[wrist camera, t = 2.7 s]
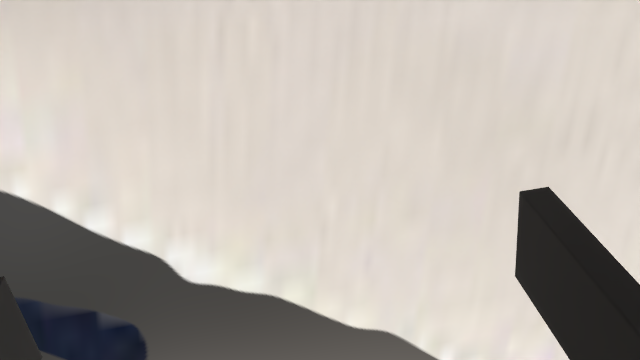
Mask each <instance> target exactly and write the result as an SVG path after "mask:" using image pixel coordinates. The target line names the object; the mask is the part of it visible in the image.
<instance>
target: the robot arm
mask: <svg viewBox="0 0 640 360" xmlns="http://www.w3.org/2000/svg"><path fill="white" fill-rule="evenodd" d="M515 277H516V278H517V280H518V281H519V283H520V284H521V286H522V287H523V289H524V290H525V292H526V293H527V295H528V296H529V298H530V299H531V301H532V303H533V304H534V306H535V307H536V309H537V310H538V312H539V313H540V315H541V316H542V318H543V319H544V321H545V322H546V324H547V325H548V327H549V329H550V330H551V332H552V333H553V335H554V336H555V338H556V339H557V341H558V342H559V344H560V345H561V347H562V348H563V350H564V351H565V353H566V354H567V356H568V358H569V359H570V360H640V285H639V284H638V282H637V281H636V280H635V279H634V278H633V277H632V276H631V275H630V274H629V273H628V272H627V271H626V270H625V268H624V267H623V266H622V265H621V264H620V263H619V262H618V261H617V260H616V259H615V258H614V257H613V256H612V255H611V253H610V252H609V251H608V250H607V249H606V248H605V247H604V246H603V245H602V244H601V243H600V242H599V241H598V239H597V238H596V237H595V236H594V235H593V234H592V233H591V232H590V231H589V230H588V229H587V228H586V227H585V226H584V224H583V223H582V222H581V221H580V220H579V219H578V218H577V217H576V216H575V215H574V214H573V213H572V212H571V210H570V209H569V208H568V207H567V206H566V205H565V204H564V203H563V202H562V201H561V200H560V199H559V198H558V197H557V195H556V194H555V193H554V192H553V191H552V190H551V189H550V188H549V187H545V188H539V189H532V190H526V191H520V195H519V214H518V233H517V251H516V270H515ZM41 359H42V355H41V353H40V351H39V349H38V347H37V345H36V343H35V341H34V339H33V336H32V334H31V332H30V330H29V328H28V326H27V324H26V322H25V320H24V317H23V315H22V313H21V311H20V309H19V307H18V305H17V303H16V301H15V298H14V296H13V294H12V292H11V290H10V288H9V286H8V284H7V282H6V280H5V277H4V276H3V277H0V360H41Z"/></svg>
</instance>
